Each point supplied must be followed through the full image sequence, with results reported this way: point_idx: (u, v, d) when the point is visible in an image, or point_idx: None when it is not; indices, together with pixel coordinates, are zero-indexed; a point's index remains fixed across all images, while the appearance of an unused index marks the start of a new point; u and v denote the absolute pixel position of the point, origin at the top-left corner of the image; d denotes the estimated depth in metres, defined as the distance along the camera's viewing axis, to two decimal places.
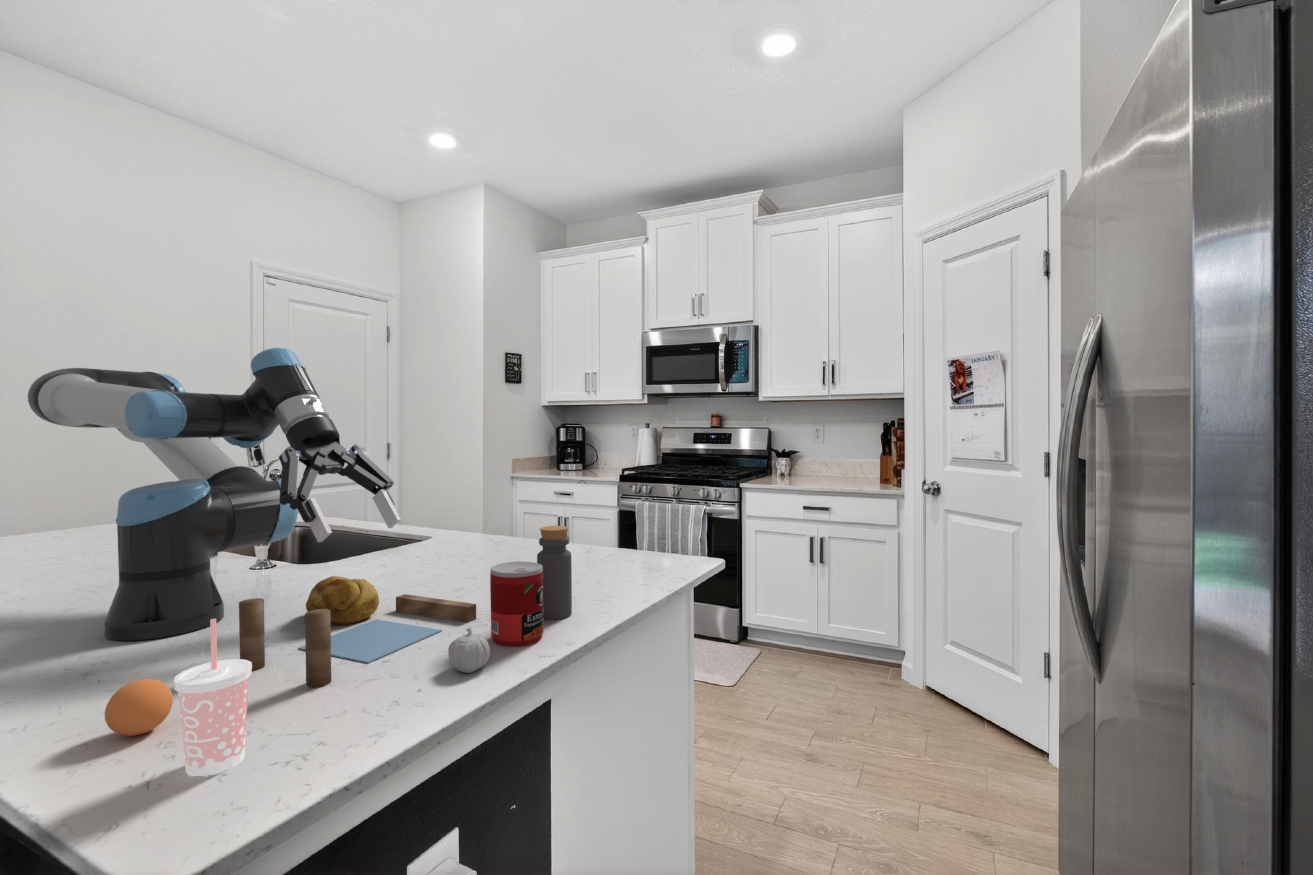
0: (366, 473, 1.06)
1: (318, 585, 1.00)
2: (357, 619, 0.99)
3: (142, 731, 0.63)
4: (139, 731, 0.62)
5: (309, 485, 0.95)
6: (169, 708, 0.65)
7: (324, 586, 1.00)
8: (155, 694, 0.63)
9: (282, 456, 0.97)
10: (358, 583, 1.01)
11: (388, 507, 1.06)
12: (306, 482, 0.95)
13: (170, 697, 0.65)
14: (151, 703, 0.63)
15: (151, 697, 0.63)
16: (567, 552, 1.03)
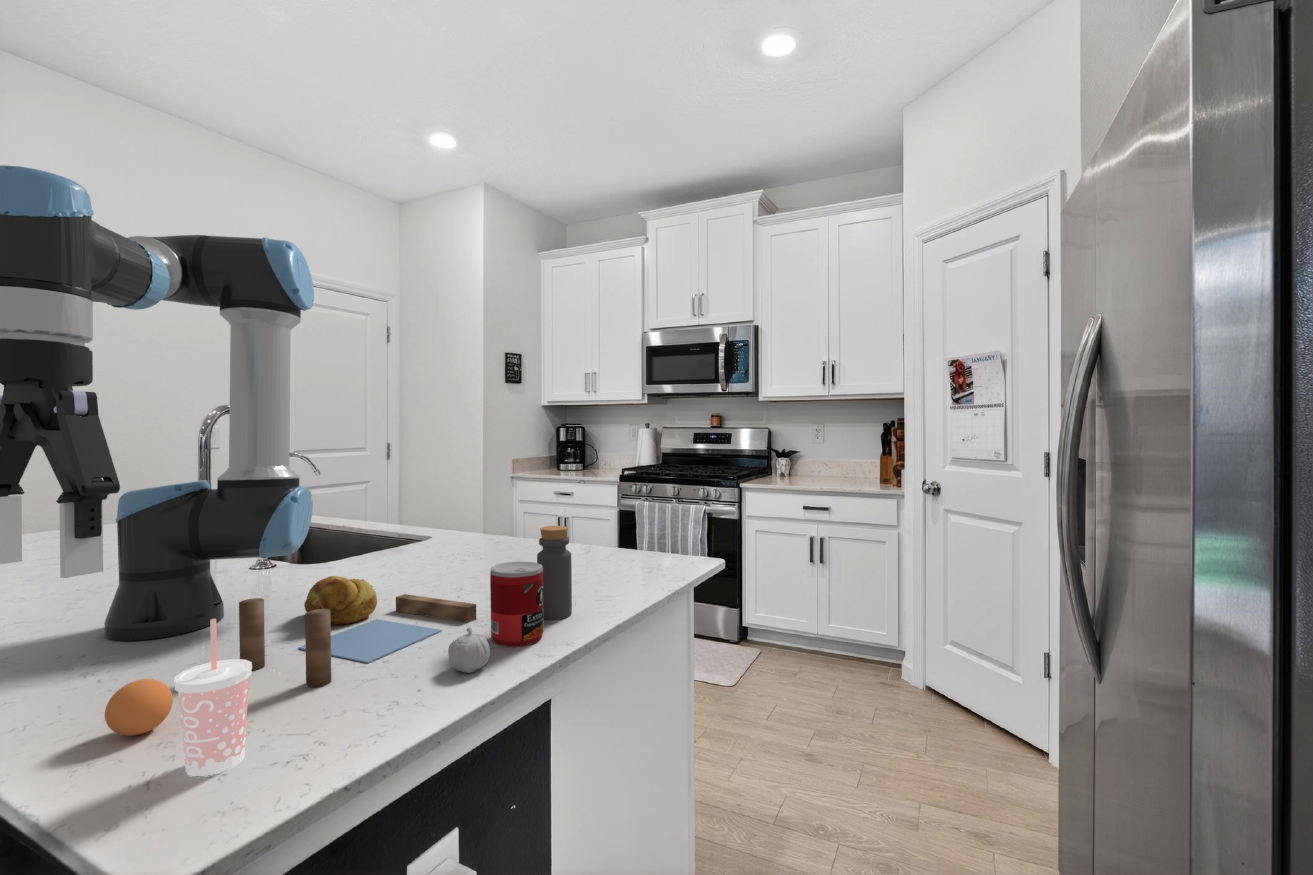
0: (54, 461, 0.53)
1: (316, 585, 1.00)
2: (355, 619, 0.99)
3: (142, 731, 0.63)
4: (139, 731, 0.62)
5: None
6: (169, 708, 0.65)
7: (322, 586, 1.00)
8: (155, 694, 0.63)
9: None
10: (356, 583, 1.01)
11: None
12: None
13: (170, 697, 0.65)
14: (151, 703, 0.63)
15: (151, 697, 0.63)
16: (567, 552, 1.03)
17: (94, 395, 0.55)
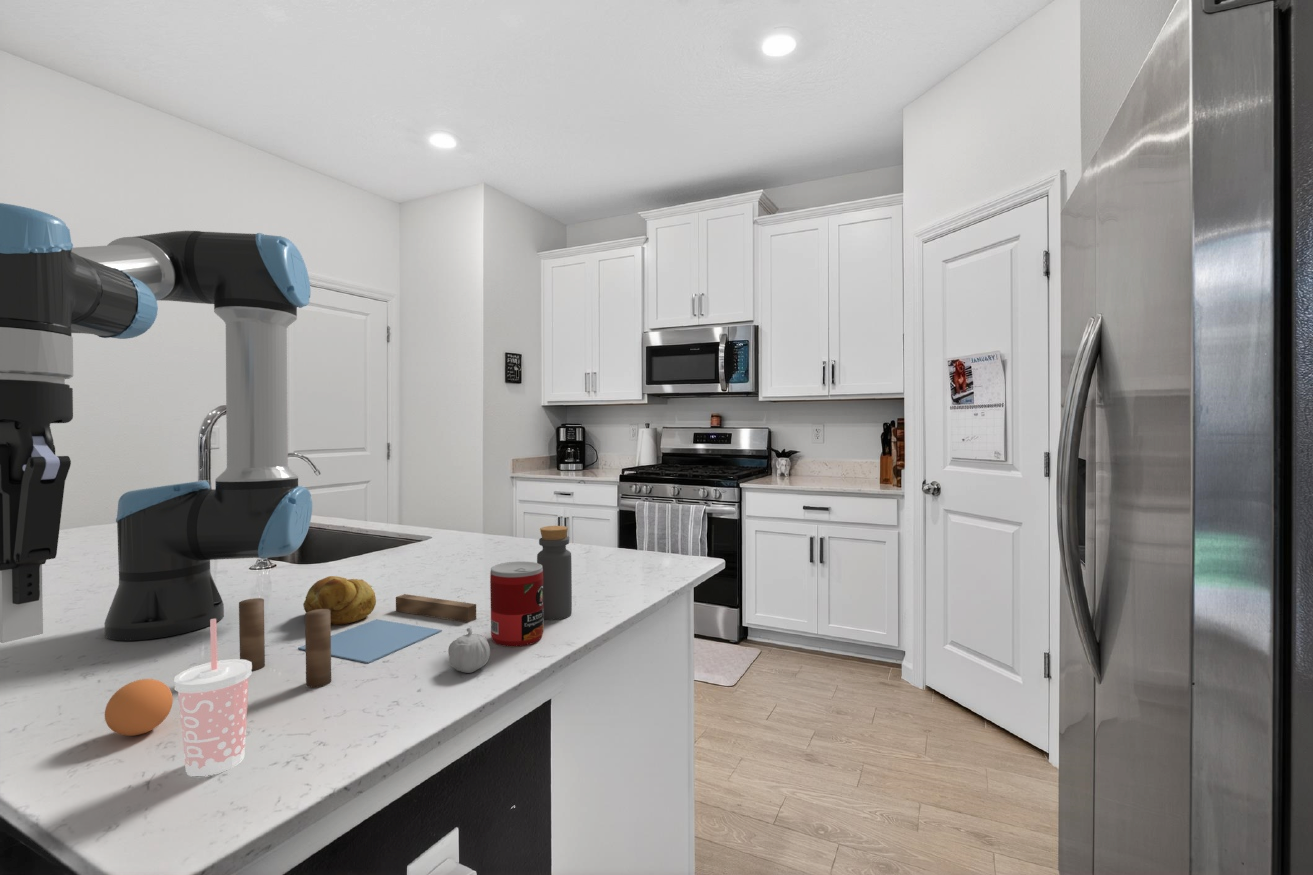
0: (6, 520, 0.53)
1: (315, 585, 1.00)
2: (353, 619, 0.99)
3: (142, 731, 0.63)
4: (139, 731, 0.62)
5: None
6: (169, 708, 0.65)
7: (321, 586, 1.00)
8: (155, 694, 0.63)
9: None
10: (355, 583, 1.01)
11: None
12: None
13: (170, 697, 0.65)
14: (151, 703, 0.63)
15: (151, 697, 0.63)
16: (567, 552, 1.03)
17: (68, 464, 0.54)
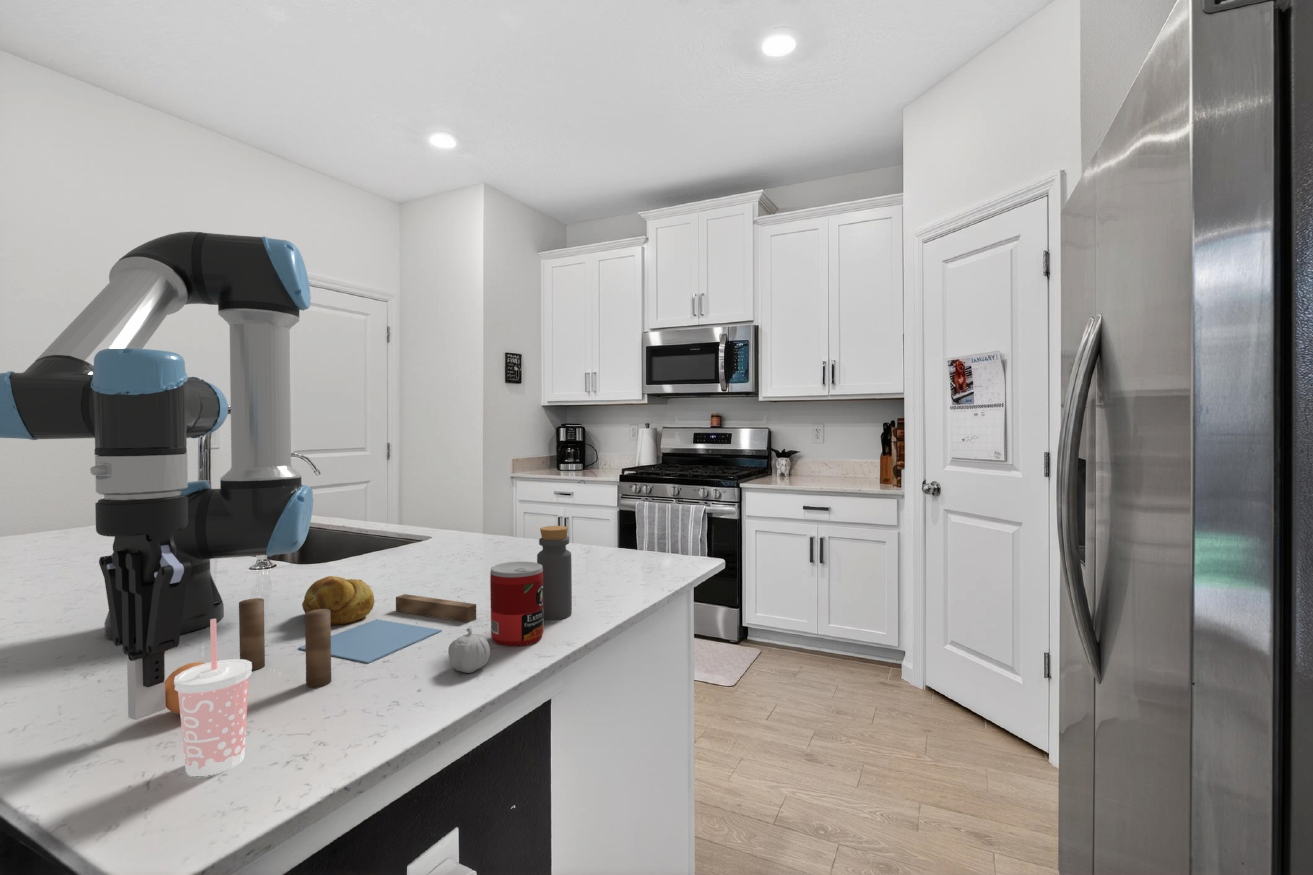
0: (139, 616, 0.63)
1: (314, 585, 1.00)
2: (351, 619, 0.99)
3: None
4: None
5: (126, 627, 0.64)
6: None
7: (319, 586, 1.00)
8: None
9: None
10: (353, 583, 1.01)
11: None
12: (123, 624, 0.64)
13: None
14: None
15: None
16: (567, 552, 1.03)
17: (190, 569, 0.63)
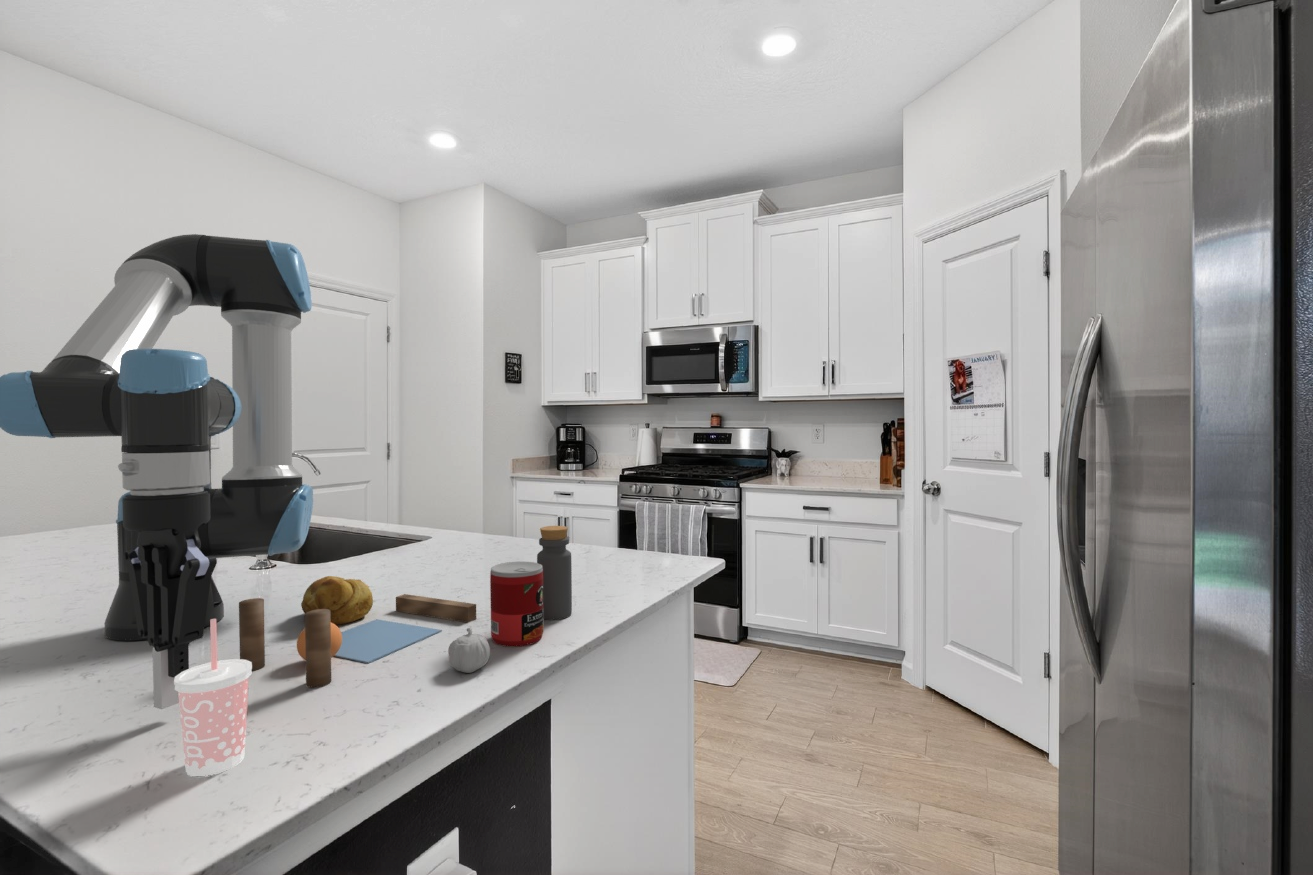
0: (164, 609, 0.65)
1: (312, 585, 1.00)
2: (350, 619, 0.99)
3: None
4: None
5: (151, 619, 0.66)
6: (334, 653, 0.83)
7: (318, 586, 1.00)
8: (340, 635, 0.83)
9: None
10: (352, 583, 1.01)
11: None
12: (148, 616, 0.66)
13: (339, 647, 0.84)
14: (336, 638, 0.83)
15: (338, 634, 0.83)
16: (567, 552, 1.03)
17: (215, 562, 0.65)
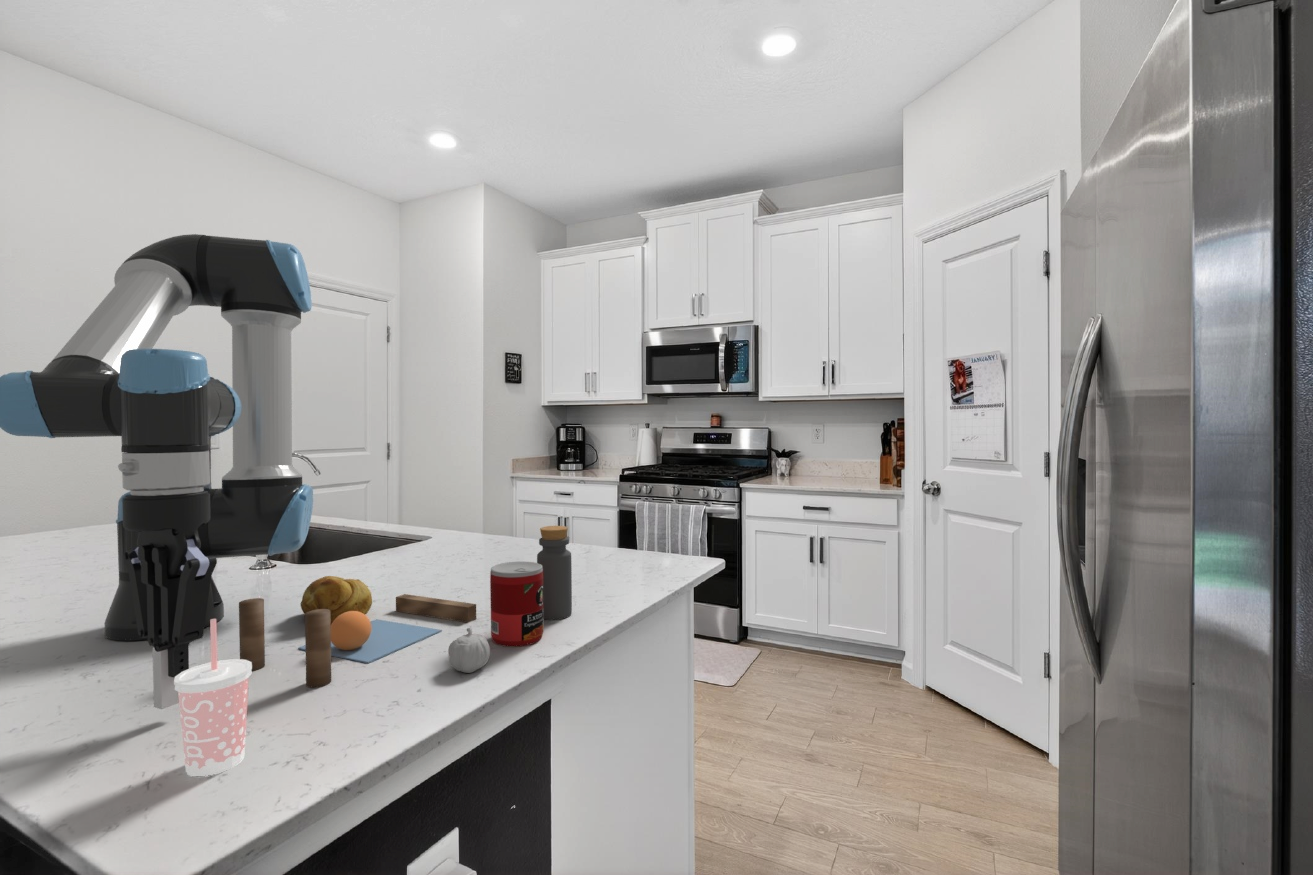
0: (164, 609, 0.65)
1: (311, 585, 1.00)
2: None
3: (356, 618, 0.87)
4: (358, 617, 0.87)
5: (151, 619, 0.66)
6: (350, 638, 0.85)
7: (317, 586, 1.00)
8: (363, 642, 0.87)
9: None
10: (351, 583, 1.01)
11: None
12: (148, 616, 0.66)
13: (351, 644, 0.86)
14: (366, 636, 0.87)
15: (366, 639, 0.87)
16: (567, 552, 1.03)
17: (215, 562, 0.65)
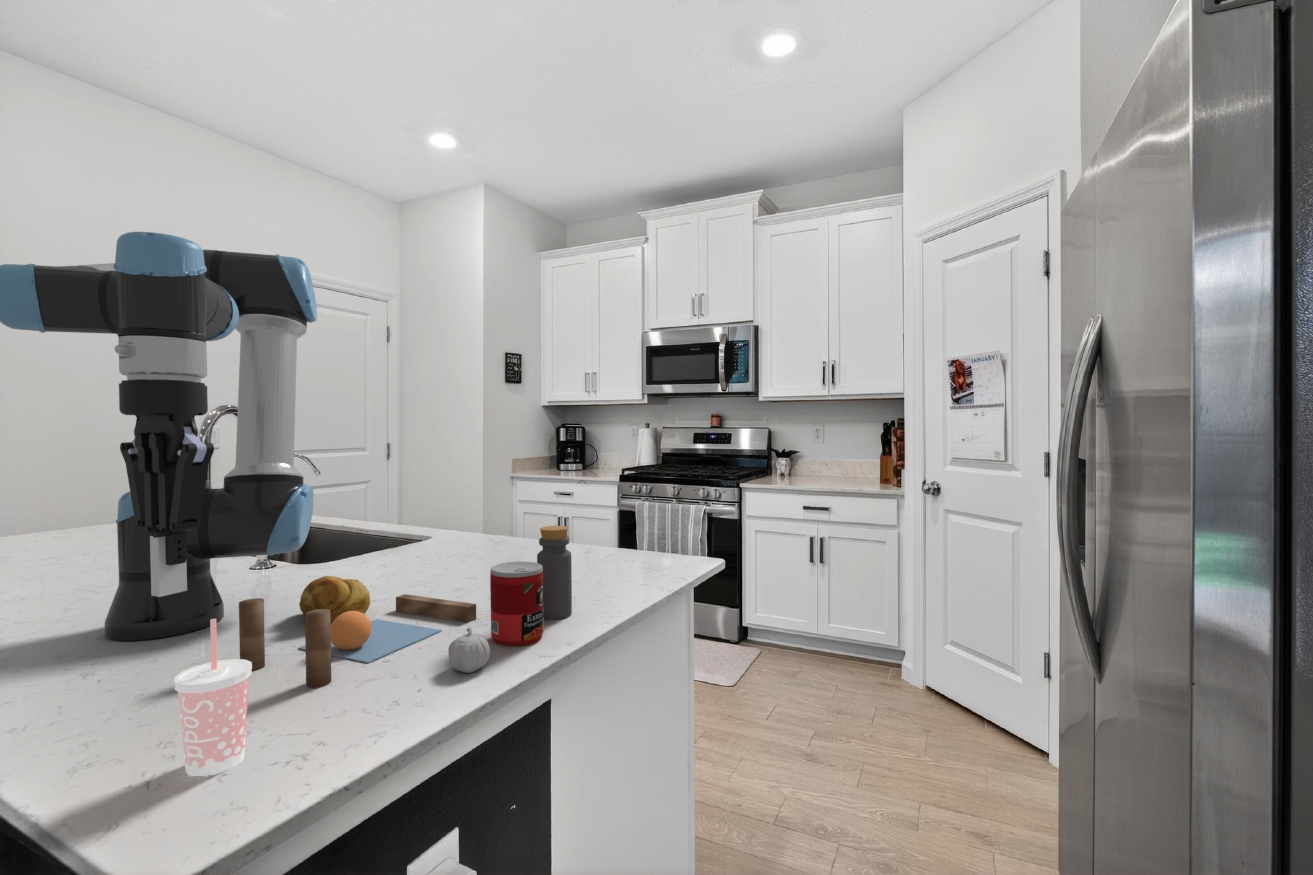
0: (162, 496, 0.65)
1: (310, 585, 1.01)
2: None
3: (356, 618, 0.87)
4: (358, 617, 0.87)
5: (148, 508, 0.66)
6: (350, 638, 0.85)
7: (315, 586, 1.00)
8: (363, 642, 0.87)
9: None
10: (349, 583, 1.01)
11: None
12: (145, 505, 0.66)
13: (351, 644, 0.86)
14: (366, 636, 0.87)
15: (366, 639, 0.87)
16: (567, 552, 1.03)
17: (212, 450, 0.65)
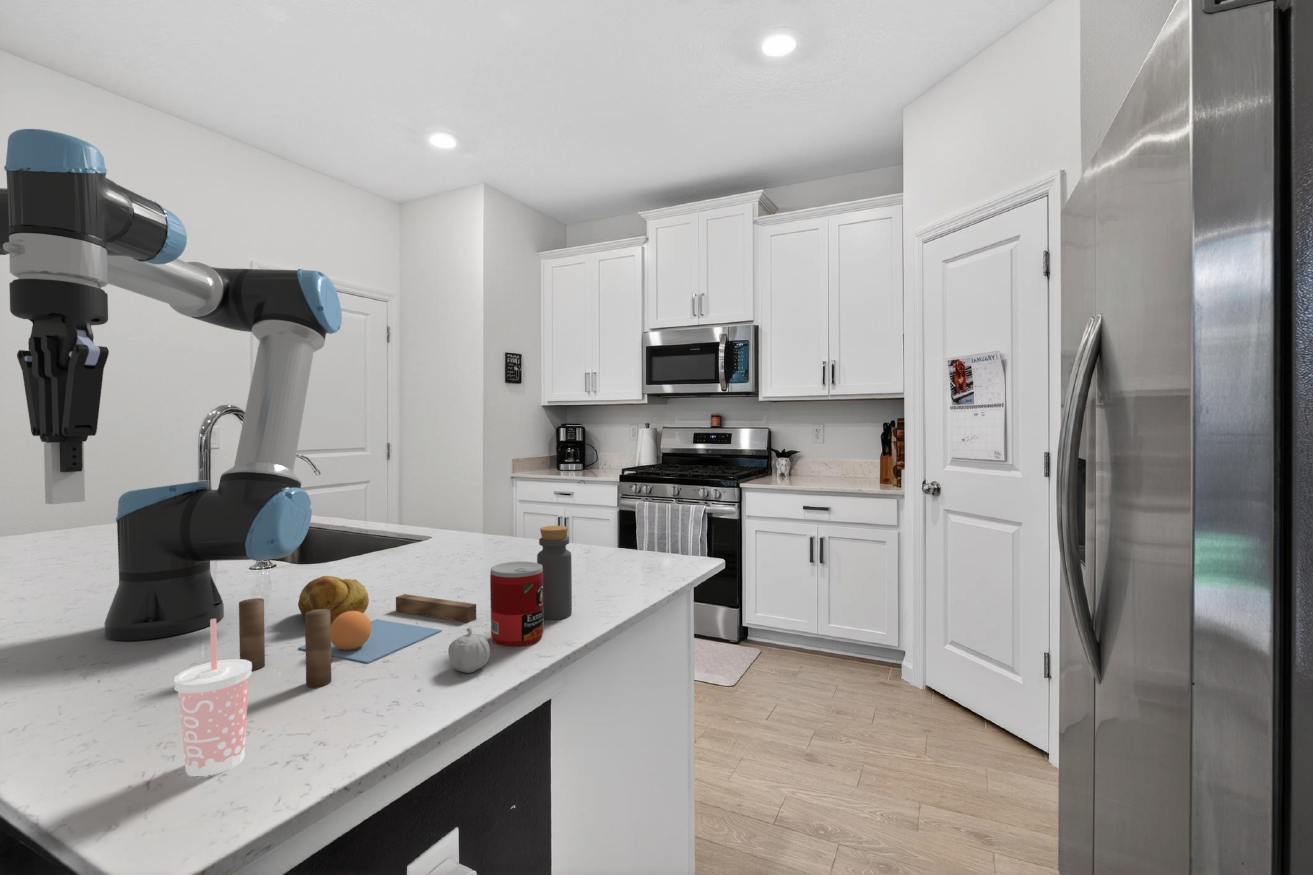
0: (55, 400, 0.63)
1: (308, 584, 1.01)
2: None
3: (356, 618, 0.87)
4: (358, 617, 0.87)
5: (43, 414, 0.64)
6: (350, 638, 0.85)
7: (314, 586, 1.00)
8: (363, 642, 0.87)
9: None
10: (347, 583, 1.01)
11: None
12: (40, 412, 0.65)
13: (351, 644, 0.86)
14: (366, 636, 0.87)
15: (366, 639, 0.87)
16: (567, 552, 1.03)
17: (106, 353, 0.63)
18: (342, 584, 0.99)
